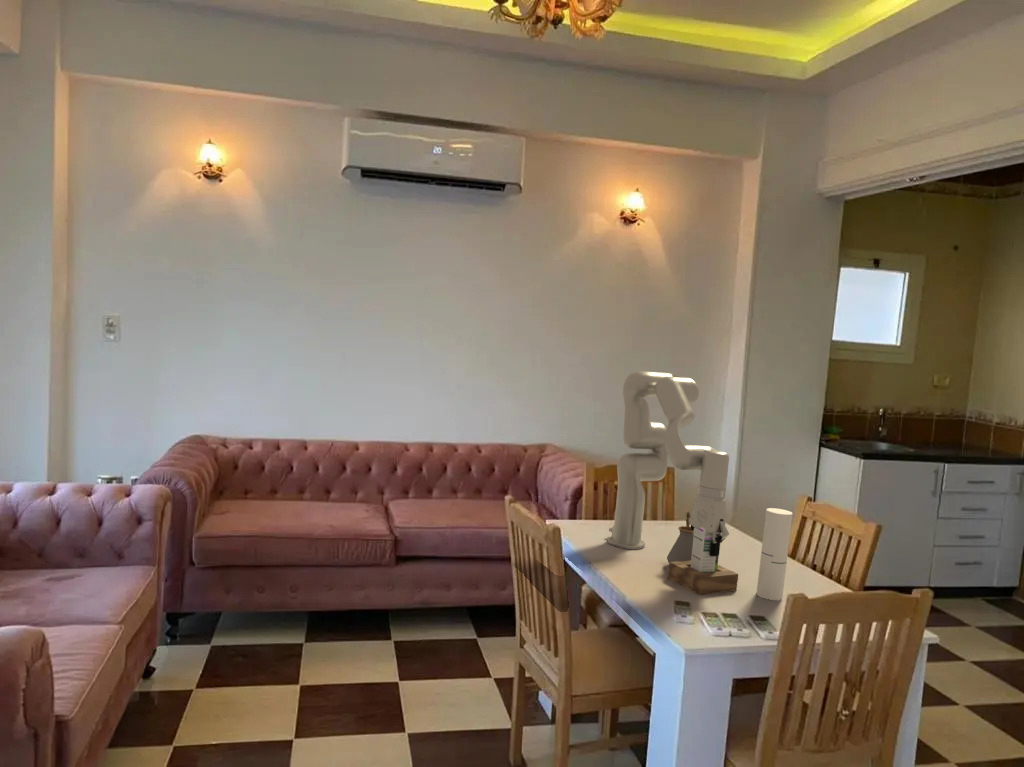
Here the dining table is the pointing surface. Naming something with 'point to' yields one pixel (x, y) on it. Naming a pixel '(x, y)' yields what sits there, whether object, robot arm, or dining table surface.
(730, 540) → the dining table surface
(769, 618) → the dining table surface
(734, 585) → the mount block
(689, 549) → the coffee pot
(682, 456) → the robot arm
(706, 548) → the syrup box
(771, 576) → the cylindrical container
